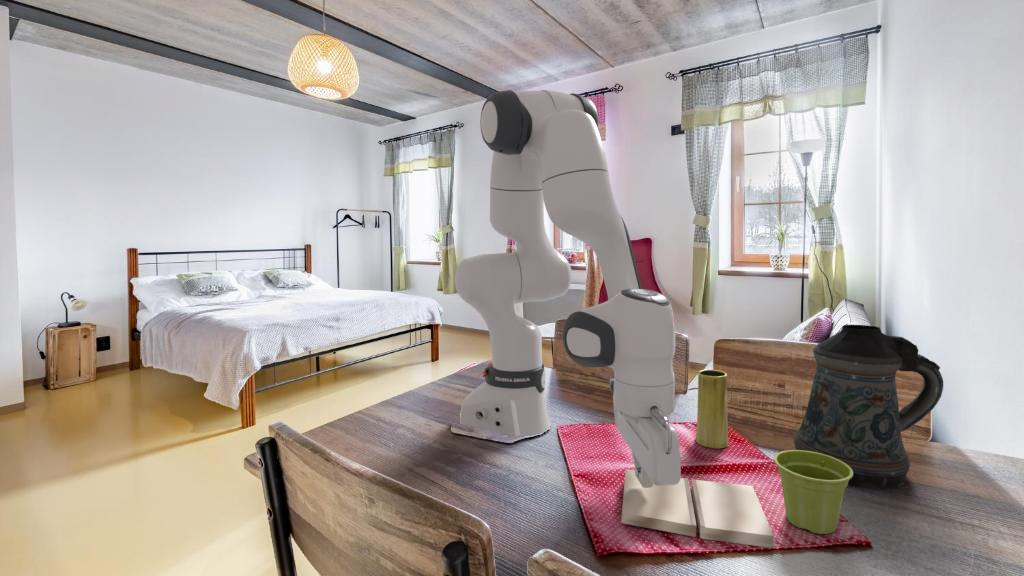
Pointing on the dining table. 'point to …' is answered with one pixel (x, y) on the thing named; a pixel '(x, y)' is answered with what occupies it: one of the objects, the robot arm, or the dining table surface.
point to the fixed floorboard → (730, 514)
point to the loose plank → (659, 506)
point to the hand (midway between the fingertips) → (643, 481)
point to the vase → (712, 409)
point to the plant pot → (812, 488)
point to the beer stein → (866, 404)
